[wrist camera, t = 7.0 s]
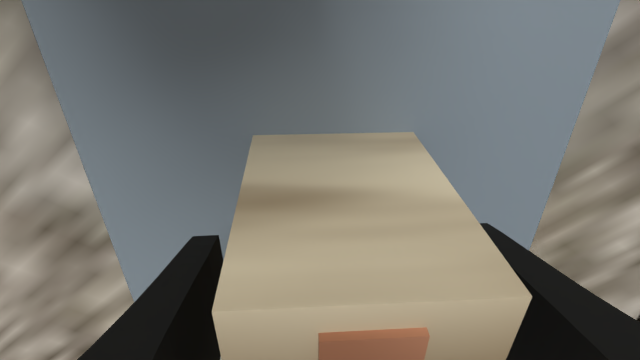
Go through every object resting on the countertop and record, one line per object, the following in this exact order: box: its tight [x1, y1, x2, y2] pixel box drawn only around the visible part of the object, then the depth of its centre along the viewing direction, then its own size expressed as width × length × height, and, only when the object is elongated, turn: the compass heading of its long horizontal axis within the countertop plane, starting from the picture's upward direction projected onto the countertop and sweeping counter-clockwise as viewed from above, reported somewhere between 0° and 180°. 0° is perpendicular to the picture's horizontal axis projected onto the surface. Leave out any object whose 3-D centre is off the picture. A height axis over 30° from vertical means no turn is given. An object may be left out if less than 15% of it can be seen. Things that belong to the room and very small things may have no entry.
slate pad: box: [22, 0, 620, 302], centre depth 12 cm, size 14×13×1 cm
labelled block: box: [212, 132, 532, 360], centre depth 9 cm, size 4×4×6 cm
